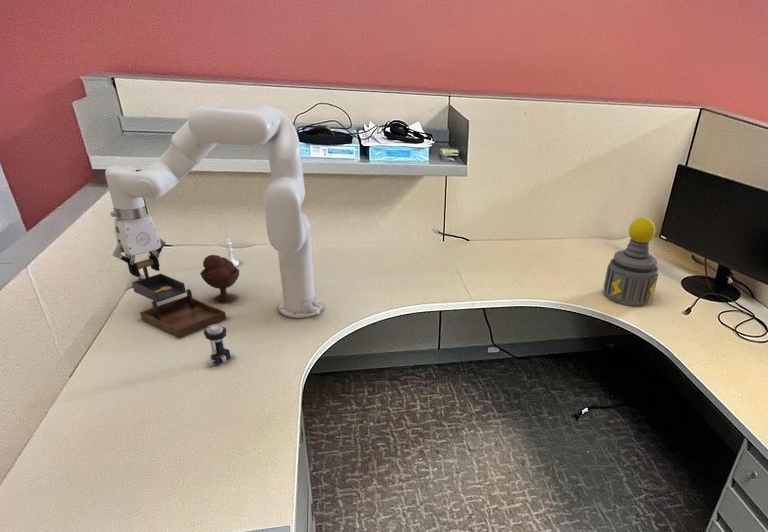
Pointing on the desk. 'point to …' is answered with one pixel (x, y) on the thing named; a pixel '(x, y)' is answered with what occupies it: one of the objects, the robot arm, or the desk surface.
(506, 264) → the desk surface
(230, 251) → the chess piece
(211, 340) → the push button
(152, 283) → the scoop
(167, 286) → the key
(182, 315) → the tray
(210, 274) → the ice cream bowl
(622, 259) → the decorative lamp
